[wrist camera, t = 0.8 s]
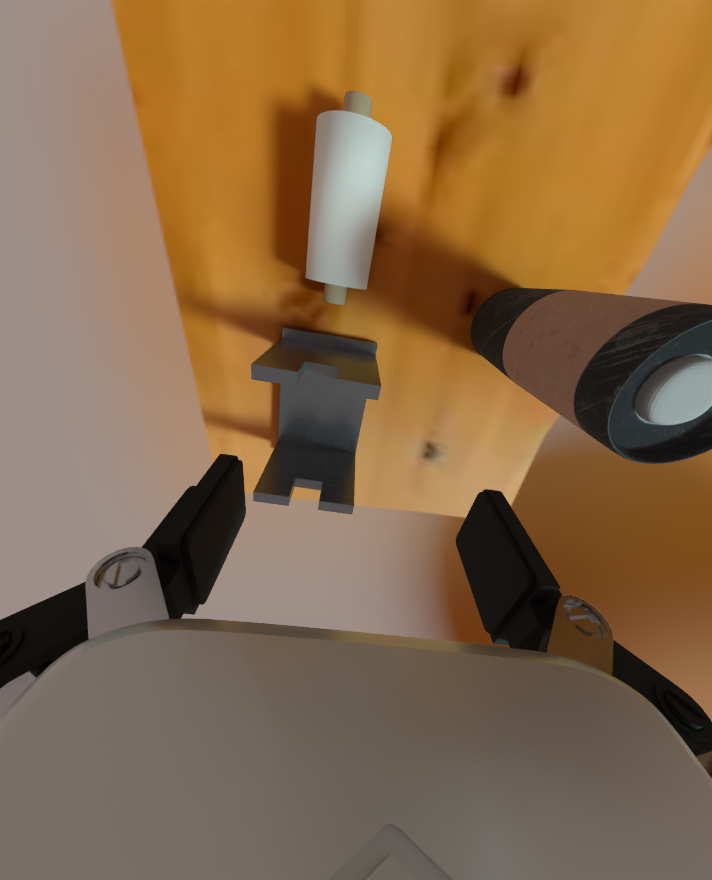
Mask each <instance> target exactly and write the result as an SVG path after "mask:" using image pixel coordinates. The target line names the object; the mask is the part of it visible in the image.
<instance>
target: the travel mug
mask: <svg viewBox="0 0 712 880" xmlns="http://www.w3.org/2000/svg"><path fill="white" fill-rule="evenodd" d="M471 337H472V342H473V345H474V347H475V349H476V350H477V351H478V352H479V353H480V354H481V355H482V356H483V357H484V358H485V359H486V360H488V361H489V362H490V363H491V364H493V365H494V366H495V367H496V368H497V369H499V370H500V371H501V372H502V373H503V374H505V375H506V376H507V377H508V378H510V379H511V380H512V381H513V382H515V383H516V384H517V385H519V386H520V387H521V388H523V389H524V390H526V391H527V392H529V393H530V394H531V395H533V396H534V397H536V398H537V399H539V400H540V401H541V402H543V403H544V404H546V405H547V406H549V407H550V408H552V409H553V410H554V411H556V412H557V413H559V414H560V415H562V416H563V417H564V418H566V419H567V420H569V421H570V422H572V423H573V424H574V425H576V426H577V427H579V428H580V429H582V430H583V431H585V432H586V433H587V434H589V435H590V436H592V437H593V438H595V439H596V440H597V441H599V442H600V443H602V444H603V445H605V446H606V447H608V448H609V449H610V450H612V451H613V452H615V453H616V454H618V455H620V456H622V457H623V458H626V459H629V460H631V461H634V462H639V463H645V464H663V463H671V462H675V461H680V460H684V459H687V458H691V457H694V456H697V455H699V454H702V453H705V452H707V451H709V450H711V449H712V305H707V304H697V303H688V302H679V301H670V300H659V299H651V298H642V297H632V296H624V295H614V294H605V293H596V292H587V291H577V290H559V289H530V288H513V289H507V290H503V291H501V292H499V293H496V294H495V295H493V296H492V297H490V298H489V299H488V300H487V301H486V302H485V303H484V304H483V305H482V306H481V307H480V309H479V310H478V312H477V314H476V315H475V318H474V320H473V324H472V329H471Z"/></svg>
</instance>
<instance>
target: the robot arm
mask: <svg viewBox="0 0 712 880" xmlns="http://www.w3.org/2000/svg"><path fill="white" fill-rule="evenodd" d="M245 513H246V506H245V491H244V476H243V463H242V461H241V460H238V457H237V456H233V455H226V454H220V455H219V456H218V458H217V459H216V460H215V462H214V463H213V464H212V466H211V467H210V468H209V470H208V471H207V472H206V474H205V475H204V476H203V478H202V479H201V480H200V482H199V483H198V484H197V486H191V487H189V488H188V489H187V490H186V491H185V493H184V494H183V495H182V497H181V498H180V499H179V500H178V502H177V503H176V504H175V505H174V507H173V508H172V509H171V511H170V512H169V513H168V514H167V516H166V517H165V518H164V519H163V521H162V522H161V523H160V525H159V526H158V527H157V528H156V530H155V531H154V532H153V534H152V535H151V536H150V538H149V539H148V540H147V541H146V543H145V544H144V545H143V546H142V548H140V547H129V548H124V549H121V550H118V551H115V552H114V553H111V554H109V555H107V556H106V557H104V558H103V559H101V560H100V561H99V562H98V563H97V564H96V565H95V566H94V567H93V568H92V569H91V570H90V572H89V574H88V576H87V578H86V582H84V583H82V584H80V585H77V586H75V587H73V588H71V589H69V590H66V591H64V592H62V593H59V594H57V595H55V596H53V597H51V598H48V599H46V600H44V601H42V602H39V603H37V604H35V605H33V606H30V607H28V608H26V609H24V610H21V611H19V612H17V613H15V614H13V615H10V616H8V617H6V618H4V619H1V620H0V880H712V722H711V720H710V718H709V717H708V716H707V714H706V713H705V712H704V711H703V709H702V708H701V707H700V706H699V705H698V704H697V703H696V702H695V701H694V700H693V699H692V698H691V697H690V696H689V695H688V694H687V693H685V692H684V691H683V690H682V689H680V688H679V687H678V686H677V685H675V684H674V683H672V682H671V681H670V680H668V679H667V678H665V677H664V676H663V675H661V674H660V673H659V672H657V671H656V670H654V669H653V668H652V667H650V666H649V665H647V664H646V663H645V662H643V661H642V660H640V659H639V658H638V657H636V656H635V655H634V654H632V653H631V652H629V651H628V650H627V649H625V648H624V647H623V646H621V645H620V644H618V643H617V642H616V641H614V639H613V638H614V637H613V631H612V629H611V627H610V625H609V623H608V622H607V620H606V619H605V618H604V616H603V615H602V614H601V613H600V612H599V611H598V610H597V609H596V608H595V607H594V606H592V605H591V604H590V603H588V602H587V601H585V600H583V599H581V598H579V597H576V596H573V595H564V596H562V594H561V593H560V591H559V589H560V586H559V584H558V583H557V581H556V579H555V578H554V576H553V575H552V573H551V571H550V570H549V568H548V567H547V565H546V563H545V562H544V560H543V559H542V557H541V555H540V553H539V552H538V550H537V549H536V547H535V545H534V544H533V542H532V540H531V539H530V537H529V536H528V534H527V532H526V531H525V529H524V528H523V526H522V524H521V523H520V521H519V519H518V518H517V516H516V515H515V513H514V511H513V510H512V508H511V506H510V505H509V503H508V502H507V500H506V498H505V497H504V495H503V494H502V492H500V491H495V490H488V489H485V490H483V492H480V493H479V494H478V495H477V497H476V499H475V501H474V503H473V505H472V507H471V509H470V511H469V513H468V515H467V517H466V519H465V521H464V523H463V525H462V527H461V529H460V531H459V533H458V535H457V537H456V545H457V549H458V552H459V554H460V557H461V560H462V563H463V566H464V569H465V572H466V575H467V578H468V581H469V584H470V587H471V590H472V593H473V596H474V599H475V602H476V605H477V608H478V611H479V614H480V617H481V620H482V623H483V626H484V628H485V630H486V632H488V633H490V636H491V638H492V642H493V644H503V645H509V646H510V648H508V647H500V646H491V645H482V644H472V643H462V642H452V641H443V640H433V639H423V638H413V637H403V636H393V635H383V634H372V633H362V632H351V631H341V630H330V629H320V628H309V627H297V626H287V625H276V624H265V623H252V622H239V621H226V620H212V619H181V617H182V615H183V614H195V612H196V610H197V608H198V606H199V604H204V603H205V602H206V600H207V598H208V596H209V594H210V592H211V590H212V587H213V585H214V583H215V581H216V579H217V577H218V575H219V573H220V570H221V568H222V566H223V564H224V562H225V560H226V557H227V555H228V553H229V551H230V549H231V547H232V545H233V542H234V540H235V538H236V536H237V534H238V532H239V529H240V527H241V525H242V523H243V521H244V518H245Z"/></svg>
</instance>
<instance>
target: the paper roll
mask: <svg viewBox="0 0 712 880" xmlns="http://www.w3.org/2000/svg"><path fill="white" fill-rule="evenodd" d="M371 110H372V100H371V98H370V97H369V96H367V95H365V94H363V93H361V92H357V91H349V92H346V93H345V97H344V107H343V111H339V110H333V111H326V112H323V113H321V114H319V115H318V117H317V121H316V135H315V149H314V164H313V178H312V192H311V206H310V220H309V234H308V248H307V262H306V277H305V278H307V279H310V280H314V281H318V282H323V283H325V291H324V301H325V302H328V303H333V304H339V305H345V298H346V291H347V287H349V288H355V289H363V290H366V289H367V284H368V278H369V272H370V266H371V260H372V254H373V248H374V242H375V237H376V231H377V225H378V219H379V213H380V207H381V201H382V195H383V189H384V183H385V177H386V172H387V166H388V160H389V154H390V148H391V142H392V135H391V133H390V132H389V131H388V129H387V128H385V127H384V126H383V125H382V124H380V123H378V122H377V121H375V120H373V119H371V118H370V117H371Z"/></svg>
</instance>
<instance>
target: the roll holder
mask: <svg viewBox="0 0 712 880" xmlns="http://www.w3.org/2000/svg"><path fill="white" fill-rule="evenodd" d="M376 349H377V343H376V342H371V341H365V340H360V339H354V338H349V337H343V336H338V335H332V334H327V333H321V332H316V331H310V330H305V329H299V328H294V327H288V326H284V327H283V328H282V338H281V339H280V340H279V341H278V342H277V343H275V344H274V345H273V346H272V347H271V348H269V349H268V350H267V351H266V352H265V353H264V354H262V355H261V356H260V357H259V358H258V359H257V360H255V361H254V362H253V363H252V364H251V375H252V379H253V380H259V381H265V382H271V383H277V384H280V405H279V431H278V442H277V444H276V446H275V448H274V450H273V452H272V455H271V457H270V459H269V461H268V463H267V465H266V467H265V469H264V471H263V473H262V475H261V477H260V479H259V481H258V483H257V485H256V488H255V490H254V492H253V499H254V500H253V501H257V502H264V503H272V504H279V505H287V506H288V505H289V503H290V499H291V496H292V493H293V490H294V486H295V487H302V488H309V489H316V490H321V494H320V500H319V507H318V510H324V511H331V512H338V513H346V514H352V512H353V507H354V483H355V452H356V447H357V442H358V437H359V432H360V427H361V422H362V418H363V413H364V408H365V403H366V398H367V399H373V400H378V397H379V393H380V389H381V383H380V377H379V372H378V366H377V361H376V355H375V354H376Z"/></svg>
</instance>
